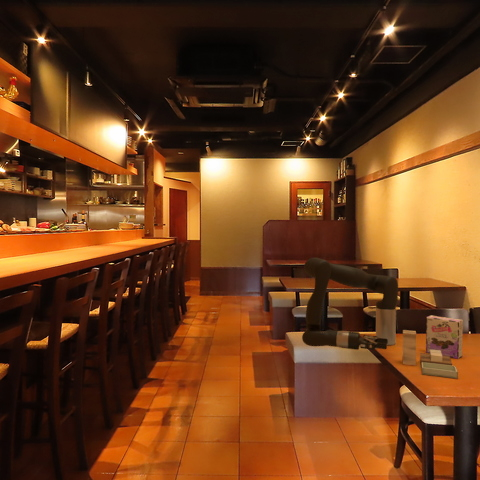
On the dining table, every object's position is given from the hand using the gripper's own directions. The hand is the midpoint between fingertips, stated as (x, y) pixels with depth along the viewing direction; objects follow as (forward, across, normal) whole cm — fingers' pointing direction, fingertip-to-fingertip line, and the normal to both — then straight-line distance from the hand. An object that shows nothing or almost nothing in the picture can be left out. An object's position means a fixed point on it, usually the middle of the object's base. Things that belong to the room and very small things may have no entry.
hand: (387, 343), depth 170 cm
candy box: (+23, +19, +7) cm, 31 cm away
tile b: (+19, -2, +4) cm, 19 cm away
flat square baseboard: (+19, 0, +7) cm, 20 cm away
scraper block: (+9, 0, +7) cm, 11 cm away
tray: (+19, -9, +7) cm, 22 cm away
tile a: (+19, +2, +4) cm, 19 cm away
